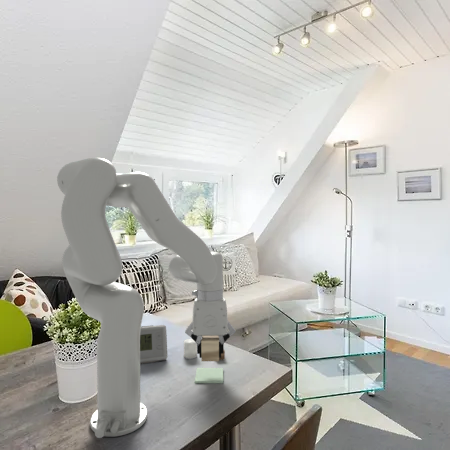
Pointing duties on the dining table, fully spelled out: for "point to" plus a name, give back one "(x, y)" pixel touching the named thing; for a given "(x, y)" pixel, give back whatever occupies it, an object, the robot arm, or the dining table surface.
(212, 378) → the felt pad
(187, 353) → the white capsule
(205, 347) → the beech block
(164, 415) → the dining table surface
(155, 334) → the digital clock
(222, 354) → the walnut box
